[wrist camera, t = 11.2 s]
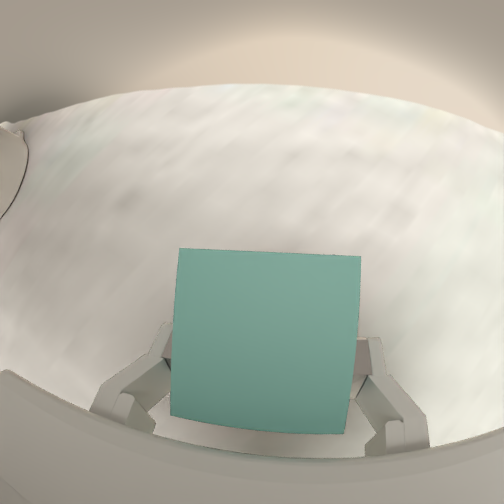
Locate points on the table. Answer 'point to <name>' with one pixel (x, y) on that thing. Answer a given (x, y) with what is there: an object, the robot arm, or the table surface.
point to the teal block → (264, 339)
